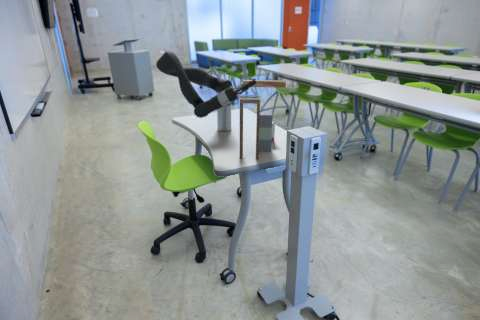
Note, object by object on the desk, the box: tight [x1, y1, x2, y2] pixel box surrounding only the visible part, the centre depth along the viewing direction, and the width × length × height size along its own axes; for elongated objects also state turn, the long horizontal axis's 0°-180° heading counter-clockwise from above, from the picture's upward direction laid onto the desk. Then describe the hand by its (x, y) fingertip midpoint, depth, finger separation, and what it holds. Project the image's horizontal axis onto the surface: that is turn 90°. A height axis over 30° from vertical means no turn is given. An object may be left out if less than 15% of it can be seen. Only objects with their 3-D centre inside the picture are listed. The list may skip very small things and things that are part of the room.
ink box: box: [271, 120, 276, 143], centre depth 188 cm, size 9×5×12 cm, turn 100°
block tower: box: [259, 111, 273, 152], centre depth 173 cm, size 6×8×21 cm
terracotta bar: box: [242, 79, 287, 88], centre depth 162 cm, size 3×22×3 cm, turn 87°
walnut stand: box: [239, 96, 261, 160], centre depth 161 cm, size 6×10×32 cm, turn 87°
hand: (255, 80), depth 162 cm, fingers closed on terracotta bar, 3 cm apart
